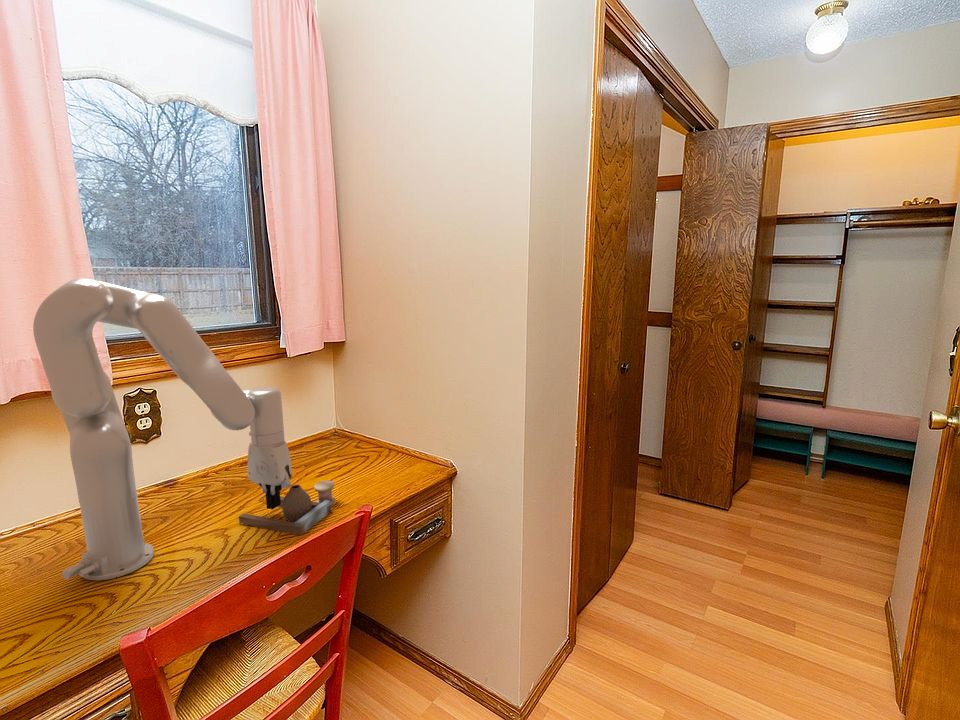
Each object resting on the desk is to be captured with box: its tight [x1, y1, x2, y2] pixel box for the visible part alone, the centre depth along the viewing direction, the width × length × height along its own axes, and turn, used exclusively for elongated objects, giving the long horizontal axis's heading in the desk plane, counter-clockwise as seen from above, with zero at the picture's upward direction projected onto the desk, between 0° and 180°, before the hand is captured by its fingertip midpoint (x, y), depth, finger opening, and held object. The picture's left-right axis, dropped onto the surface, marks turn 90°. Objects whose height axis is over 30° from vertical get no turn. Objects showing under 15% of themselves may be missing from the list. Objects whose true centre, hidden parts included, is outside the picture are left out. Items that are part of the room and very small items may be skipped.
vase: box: [281, 484, 313, 523], centre depth 122 cm, size 7×7×9 cm
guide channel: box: [238, 495, 332, 536], centre depth 123 cm, size 12×18×3 cm, turn 72°
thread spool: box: [314, 479, 337, 507], centre depth 130 cm, size 5×5×5 cm
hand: (273, 506), depth 124 cm, fingers closed
